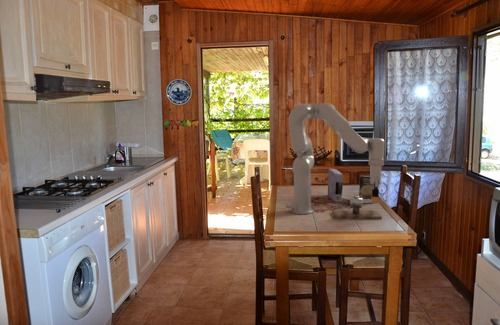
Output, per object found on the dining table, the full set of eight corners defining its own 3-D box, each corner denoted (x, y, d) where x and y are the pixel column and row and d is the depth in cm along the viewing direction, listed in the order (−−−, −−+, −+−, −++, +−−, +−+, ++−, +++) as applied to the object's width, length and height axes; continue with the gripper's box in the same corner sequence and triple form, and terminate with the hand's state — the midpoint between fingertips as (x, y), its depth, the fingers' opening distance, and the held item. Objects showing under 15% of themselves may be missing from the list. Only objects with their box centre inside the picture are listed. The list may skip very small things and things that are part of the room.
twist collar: (352, 206, 214) (352, 192, 213) (348, 203, 220) (348, 189, 219) (379, 205, 214) (380, 191, 213) (375, 202, 221) (375, 188, 220)
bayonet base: (334, 219, 213) (335, 208, 212) (331, 212, 225) (332, 202, 224) (381, 219, 211) (381, 208, 210) (376, 213, 223) (376, 202, 222)
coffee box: (358, 202, 246) (359, 176, 243) (358, 200, 252) (359, 174, 249) (374, 203, 243) (375, 177, 241) (374, 200, 249) (375, 175, 247)
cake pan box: (343, 202, 247) (343, 173, 245) (334, 202, 247) (335, 174, 245) (334, 195, 266) (335, 168, 264) (327, 195, 266) (327, 168, 264)
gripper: (367, 159, 219) (367, 193, 222) (369, 164, 205) (368, 199, 207) (382, 160, 217) (381, 193, 220) (385, 164, 203) (384, 200, 206)
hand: (375, 196), depth 214 cm, fingers closed
